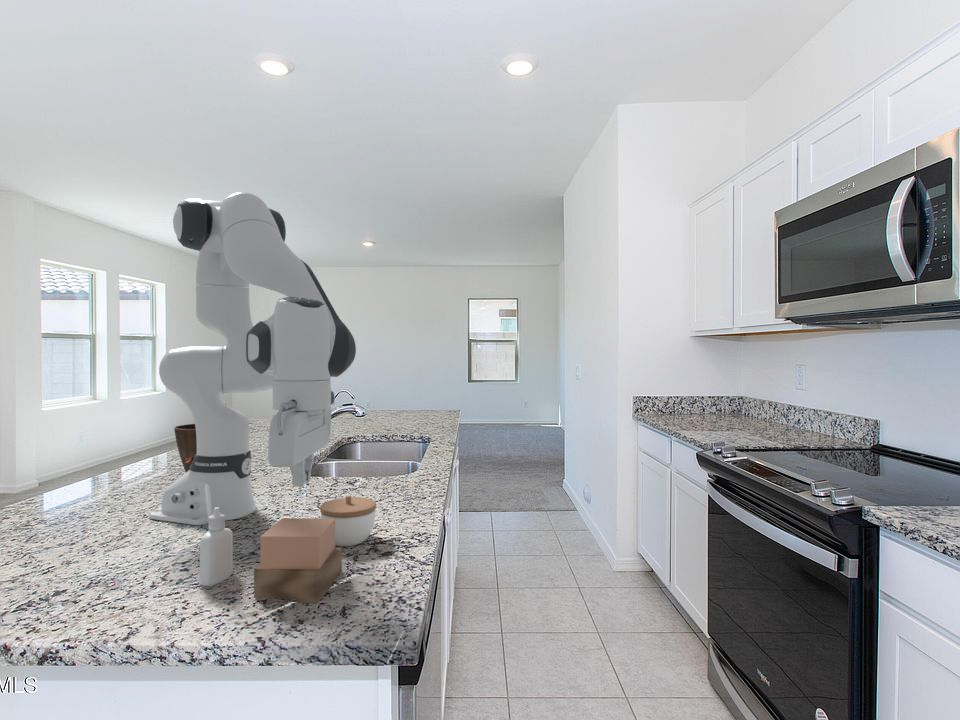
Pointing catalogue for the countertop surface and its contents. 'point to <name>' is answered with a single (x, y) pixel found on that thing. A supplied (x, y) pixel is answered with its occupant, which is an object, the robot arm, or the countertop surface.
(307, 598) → the walnut base block
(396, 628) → the countertop surface
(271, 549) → the terracotta top block
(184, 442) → the plant pot
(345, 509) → the lidded jar
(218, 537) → the eye dropper bottle
